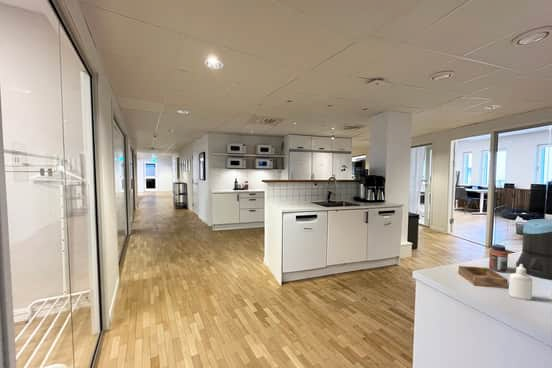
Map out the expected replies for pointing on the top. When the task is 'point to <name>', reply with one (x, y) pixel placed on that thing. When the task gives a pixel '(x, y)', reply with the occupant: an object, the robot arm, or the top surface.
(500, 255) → the supplement bottle
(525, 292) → the eye dropper bottle
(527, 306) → the top surface
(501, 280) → the holder
